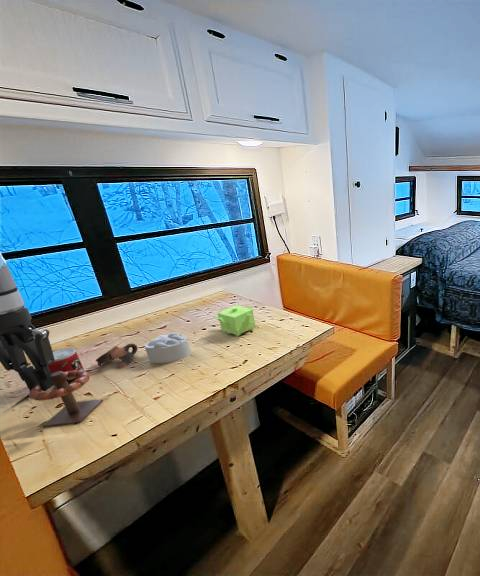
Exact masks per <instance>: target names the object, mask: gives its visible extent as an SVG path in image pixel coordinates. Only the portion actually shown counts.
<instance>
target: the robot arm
mask: <svg viewBox="0 0 480 576" xmlns="http://www.w3.org/2000/svg"><path fill="white" fill-rule="evenodd" d="M10 270H11V269H10V268H9V266H8V263H7V260H6V259H5V258H4V257H3V254H2V252H0V365H2V367H3V368H4V369H5V370H6V371H14V372H16V373H17V374H18V376H19V378H20V380H21V381H22V382H24V383H25V385H26V386H27V389H28V391H29V392H30V391H31V389H32V388H33V387H34V386H35V385H37V384H38V383H39V385H40V387H41V389H42V391H41V392H47V390H49V389H51V388H52V387H53V386H54V383H53V381H52V379H51V377H50V375H51V372H50V370H49V367H48V365H50V364H51V363H53V362H54V361H55V359H54V355H53V352H54V351H53V349H52V345H51V341H50V338H49V336H50V330H49V329H44V330H40V329H37V328H36V327H35V325H33V324H32V322H31V320H32V315H31V313H30V311H29V309H28V307H27V306H25V301H24V299H23V297H22V295H21V292H20V290H19V289H18V286H17V283H16V281H15V279H14V277H13V275H12V273H11V271H10ZM27 358H28V360H29V361H30V362H28V360H27ZM31 364H32V365H31Z"/></svg>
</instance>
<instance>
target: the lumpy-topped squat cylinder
mask: <svg viewBox="0 0 480 576" xmlns="http://www.w3.org/2000/svg"><path fill="white" fill-rule="evenodd" d="M188 341H189V340H188V338H187V336H186V335H184V334H180V333H178V332H175V331H173V332H170V333H168V334H159V335H158V336H156V337H155V338H153V339H152V340H150V341H149V342H148V343H146V344H145V345H144V349H145V352H146V355H147V358H148V360H149V363H150V364H170V363H174V362H177V361H180V360H183V359H185V358H188V357H189V356H190V355H191V353H192V352H191V347H190V345H189V342H188Z"/></svg>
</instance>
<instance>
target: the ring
mask: <svg viewBox="0 0 480 576" xmlns="http://www.w3.org/2000/svg"><path fill="white" fill-rule="evenodd" d="M63 374H64V376H65V378H66V379H68V378H75V377H79V378H80V379H78V380H77V381H76V382H75V383H73V384H71V385H69V386H66V387H64V388H62V389H58V390H57V389H56V390H52V391H42V389H41V387H40V385H39V383H38V384H37V385H35V386H34V387H33V388H32V389H31V391H29V394H28V397H29V398H30V399H32V400H35V401H36V402H37V401H38V402H40V401H49V400H55V399H58V398H61V396H64V395H67V394H69V393H71V392H72V393H73V392H75V391H78V390H79V389H81V388H82V387H84V385H85V384H88V382H89V381H90V376H91V374H90V372H89V371H87V370H86V371H85V370H84V371H83V370H75V371H68V372H64V373H63Z"/></svg>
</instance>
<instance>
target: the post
mask: <svg viewBox="0 0 480 576" xmlns="http://www.w3.org/2000/svg"><path fill="white" fill-rule="evenodd" d="M50 377H51V379H52V381H53V383H54V385H55V386H54V385H53V386H54V387H55V389H56V390H58V389H62V388H64V387H66V386H69V384H68V382H67V380H66V378H65V376H64V374H63V372H62V371H58V372H55V373H52V374H51V375H50ZM60 400H61V402H62V404H63V406H64V407H63V408H62V409H60V411H58V412H57V413H56V414H55V415H53V416H52V417H51V418H50V419H48V421H46V422H45V423H44V424H43V425H42V427H43V428H49V427H59V426H64V425H67V426H68V425H75V424H81V423H82V422H83V421H84V420H85V419H86V418H87V417H88V416H89V415H91V413H92V412H94V410H95V409H96V408H98V407H99V405H101V404H102V403H103V402H104V399H103V398H100V399H91V400H85V401H83V400H82V401H77V400H76V398H75V395H74V393H73V392H71V393H69V394H67V395H64V396H61V397H60Z"/></svg>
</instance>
